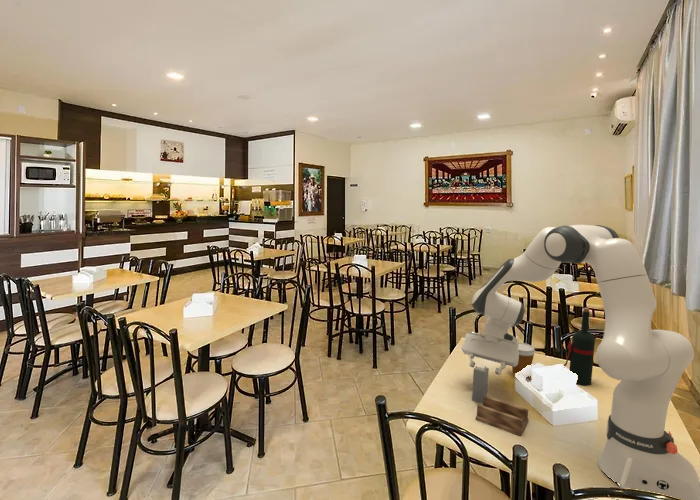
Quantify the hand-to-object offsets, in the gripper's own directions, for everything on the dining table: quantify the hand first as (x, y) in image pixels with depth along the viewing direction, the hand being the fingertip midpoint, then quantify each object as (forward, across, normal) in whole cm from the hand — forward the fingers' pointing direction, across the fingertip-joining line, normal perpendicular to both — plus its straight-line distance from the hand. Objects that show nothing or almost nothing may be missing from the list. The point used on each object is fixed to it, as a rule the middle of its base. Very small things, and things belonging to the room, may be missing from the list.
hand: (484, 370), depth 136 cm
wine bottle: (-17, +26, +32) cm, 44 cm away
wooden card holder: (+15, +10, -1) cm, 18 cm away
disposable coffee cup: (-11, +7, +26) cm, 29 cm away
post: (+10, 0, +5) cm, 11 cm away
